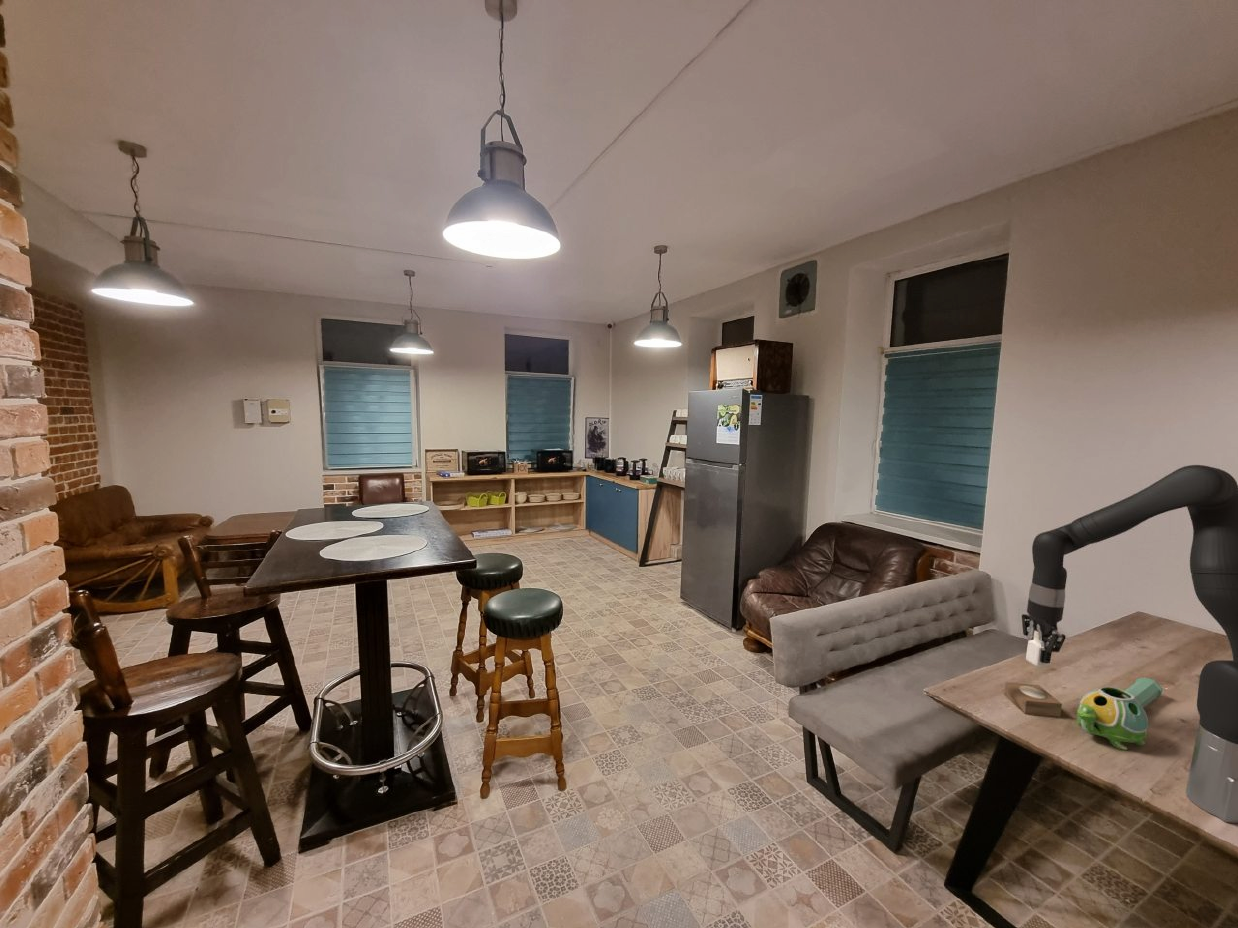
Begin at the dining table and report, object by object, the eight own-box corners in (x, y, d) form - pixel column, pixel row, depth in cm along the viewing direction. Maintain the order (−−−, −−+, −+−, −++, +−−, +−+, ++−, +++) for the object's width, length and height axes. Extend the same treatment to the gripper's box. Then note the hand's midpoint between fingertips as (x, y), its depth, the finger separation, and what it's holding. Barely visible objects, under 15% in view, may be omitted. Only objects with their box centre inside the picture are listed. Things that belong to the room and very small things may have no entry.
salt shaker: (1037, 659, 141) (1042, 628, 140) (1050, 667, 137) (1055, 635, 136) (1024, 659, 141) (1028, 628, 140) (1036, 667, 137) (1041, 635, 136)
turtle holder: (1050, 724, 133) (1056, 683, 131) (1102, 716, 137) (1108, 676, 135) (1103, 756, 121) (1110, 712, 119) (1158, 747, 125) (1166, 704, 123)
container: (1126, 703, 133) (1158, 678, 145) (1098, 700, 138) (1131, 675, 150) (1134, 726, 132) (1166, 699, 144) (1106, 722, 137) (1139, 696, 149)
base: (1060, 716, 136) (1062, 703, 135) (1024, 713, 137) (1026, 699, 136) (1036, 697, 145) (1038, 684, 144) (1003, 694, 146) (1005, 681, 145)
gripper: (1081, 612, 129) (1072, 672, 131) (1042, 591, 143) (1034, 646, 145) (1050, 610, 130) (1041, 670, 132) (1014, 589, 144) (1007, 644, 146)
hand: (1038, 657), depth 139 cm, fingers closed on salt shaker, 4 cm apart
